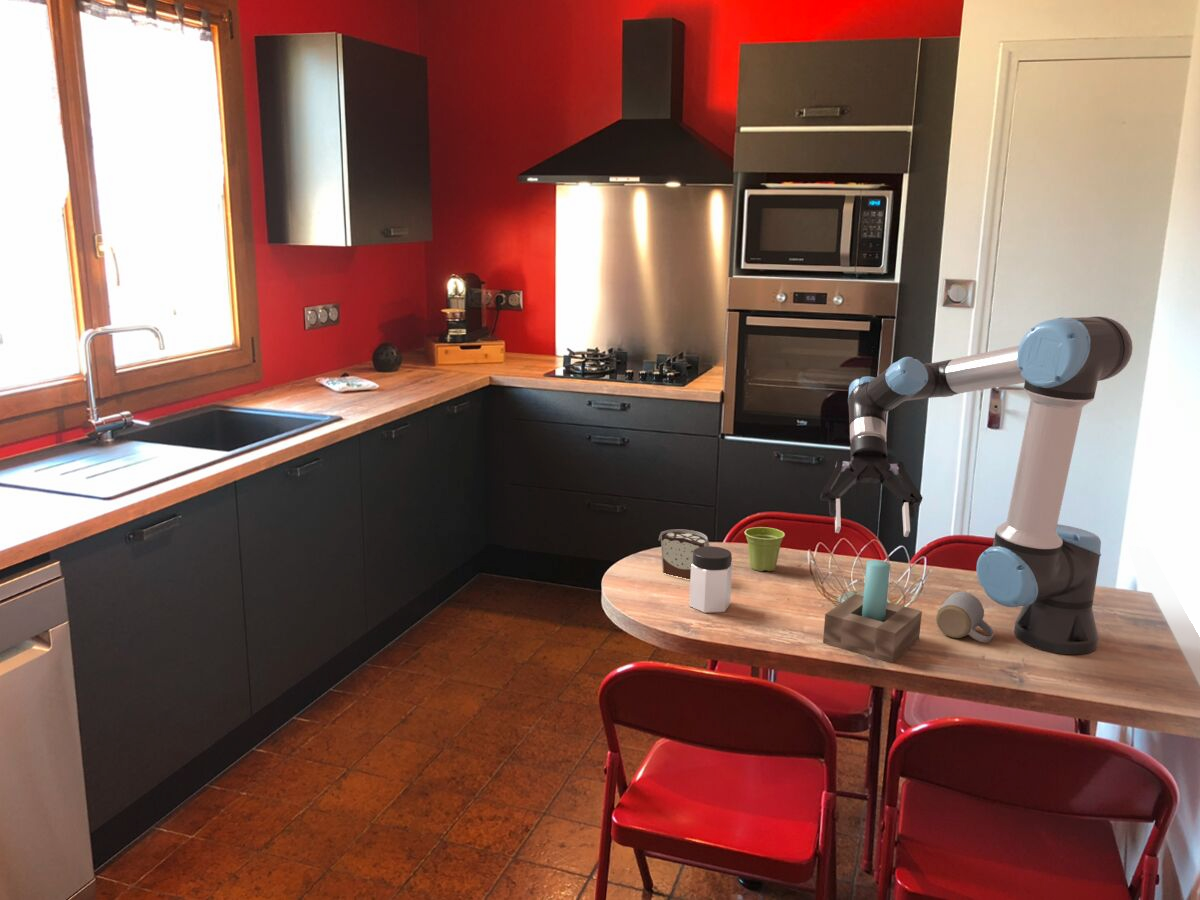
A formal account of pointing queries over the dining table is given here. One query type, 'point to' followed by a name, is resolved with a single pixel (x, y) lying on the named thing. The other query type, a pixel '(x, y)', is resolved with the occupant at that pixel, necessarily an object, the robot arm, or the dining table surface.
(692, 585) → the jar
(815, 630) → the dining table surface
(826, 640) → the hole block
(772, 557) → the plant pot
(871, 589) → the pin
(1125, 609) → the dining table surface
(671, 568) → the food container
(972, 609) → the ceramic mug
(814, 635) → the dining table surface
